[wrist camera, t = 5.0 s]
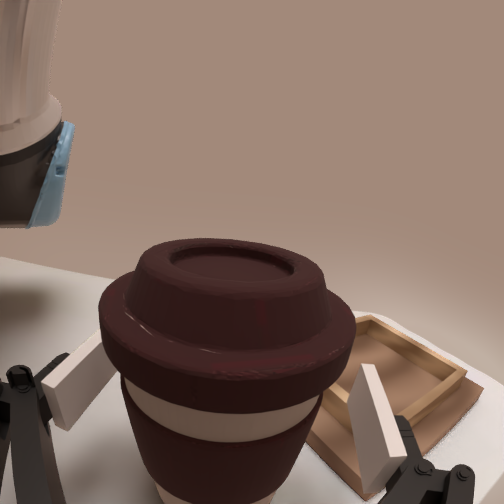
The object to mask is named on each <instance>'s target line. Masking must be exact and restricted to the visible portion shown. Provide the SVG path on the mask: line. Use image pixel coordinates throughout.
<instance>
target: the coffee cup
mask: <svg viewBox="0 0 504 504" xmlns="http://www.w3.org/2000/svg"><path fill="white" fill-rule="evenodd" d="M98 311H99V322H100V331H101V339H102V344H103V347H104V350H105V352H106V355H107V357H108V358H109V360H110V361H111V363H112V364H113V366H114V367H115V368H116V369H117V370H118V371H119V372H120V373H121V375H120V378H121V389H122V394H123V397H124V401H125V405H126V409H127V412H128V416H129V419H130V423H131V426H132V429H133V433H134V436H135V439H136V442H137V445H138V448H139V451H140V454H141V457H142V460H143V463H144V465H145V467H146V469H147V471H148V473H149V474H150V475H151V477H152V478H153V479H154V482H155V485H156V487H157V490H158V493H159V495H160V497H161V499H162V500H163V502H164V504H269V503H270V501H271V499H272V498H273V496H274V494H275V492H276V490H277V489H278V488H279V487H280V486H281V485H282V484H283V482H284V481H285V480H286V478H287V477H288V475H289V473H290V471H291V469H292V467H293V465H294V463H295V461H296V459H297V457H298V455H299V453H300V451H301V449H302V447H303V445H304V443H305V440H306V438H307V436H308V434H309V432H310V430H311V427H312V425H313V423H314V421H315V418H316V416H317V414H318V411H319V409H320V406H321V403H322V399H323V392H324V391H325V390H326V389H327V388H329V387H330V386H331V385H333V384H334V382H335V381H336V380H337V379H338V378H339V377H340V376H341V374H342V373H343V371H344V369H345V368H346V365H347V363H348V360H349V357H350V353H351V350H352V346H353V343H354V339H355V335H356V320H355V316H354V315H353V313H352V311H351V309H350V307H349V306H348V305H347V304H346V303H345V302H344V301H343V300H342V299H341V298H340V297H338V296H337V295H336V294H334V293H333V292H331V291H330V290H328V289H327V288H326V284H325V280H324V274H323V272H322V270H321V269H320V268H319V267H318V266H317V264H315V263H314V262H312V261H311V260H309V259H308V258H306V257H304V256H302V255H299V254H297V253H294V252H292V251H289V250H286V249H283V248H279V247H274V246H270V245H266V244H262V243H255V242H247V241H240V240H233V239H214V238H195V239H182V240H175V241H169V242H164V243H161V244H158V245H155V246H153V247H151V248H150V249H148V250H146V251H145V252H144V253H143V254H142V256H141V257H140V260H139V262H138V264H137V266H136V269H135V271H132V272H129V273H127V274H125V275H123V276H121V277H119V278H118V279H116V280H115V281H114V282H112V283H111V284H110V285H109V286H108V287H107V288H106V289H105V291H104V292H103V293H102V296H101V298H100V301H99V305H98Z"/></svg>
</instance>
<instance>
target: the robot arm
mask: <svg viewBox="0 0 504 504" xmlns="http://www.w3.org/2000/svg"><path fill="white" fill-rule="evenodd" d="M62 1H63V0H0V228H26V229H29V228H30V227H38V226H49V225H51V224H53V223H54V222H56V221H57V219H58V218H59V215H60V212H61V206H62V199H63V192H64V186H65V180H66V173H67V167H68V162H69V156H70V152H71V146H72V142H73V136H74V130H75V126H74V124H72V123H68V122H67V121H64V122H61V115H62V108H61V104H60V102H59V101H58V100H57V99H56V98H55V97H54V96H52V95H51V94H50V93H49V84H50V73H51V63H52V55H53V48H54V42H55V36H56V30H57V25H58V19H59V14H60V10H61V5H62ZM117 371H118V370H117V369H116V368H115V367H114V366H113V364H112V363H111V361H110V360H109V358H108V357H107V355H106V352H105V350H104V347H103V344H102V339H101V331H100V328H99V329H98V330H97V331H96V332H95V333H94V334H93V335H92V336H90V337H89V338H88V339H87V340H86V341H85V342H84V343H83V344H81V345H80V346H79V347H78V348H77V349H76V350H75V351H74V352H73V353H71V354H68V353H63V354H61V355H59V356H57V357H56V358H55V359H53V360H52V361H51V362H50V363H49V364H48V365H47V367H44V368H43V369H42V370H41V371H40V372H39V373H38V374H37V375H35V376H34V377H33V376H32V372H31V369H30V368H29V367H27V366H24V365H16V366H13V367H11V368H10V369H9V370H8V371H7V373H6V376H7V379H8V382H9V383H5V382H1V379H0V493H1V486H2V480H3V474H4V469H5V464H6V459H7V454H8V449H9V445H10V441H11V456H12V468H13V478H14V486H15V493H16V499H17V504H66V501H65V497H64V494H63V490H62V486H61V482H60V478H59V473H58V469H57V464H56V459H55V454H54V449H53V443H52V437H51V430H50V425H49V422H48V421H49V420H50V419H51V418H53V420H54V423H55V425H56V426H58V427H60V428H61V429H63V430H65V431H67V432H68V431H69V430H70V429H71V427H72V426H73V425H74V424H75V422H76V421H77V420H78V419H79V417H80V416H81V415H82V414H83V412H84V411H85V410H86V409H87V407H88V406H89V405H90V404H91V402H92V401H93V400H94V399H95V397H96V396H97V395H98V394H99V393H100V391H101V390H102V389H103V388H104V386H105V385H106V384H107V383H108V382H109V380H110V379H111V378H112V377H113V375H114V374H115V373H116V372H117ZM347 406H348V411H349V415H350V420H351V425H352V431H353V436H354V441H355V446H356V452H357V457H358V463H359V469H360V475H361V481H362V487H363V493H364V494H366V493H380V491H381V490H382V489H383V488H384V487H386V492H387V493H386V494H385V495H384V496H383V497H382V499H381V500H380V501H379V502H378V503H377V504H473V498H474V486H475V474H474V472H473V470H472V469H471V468H470V467H469V466H467V465H463V464H459V465H456V466H454V467H453V468H452V470H451V471H445V470H438V469H435V467H434V465H433V464H432V463H431V462H430V461H428V460H426V459H423V457H422V454H421V452H420V449H419V446H418V444H417V441H416V438H415V437H414V433H413V431H412V428H411V426H410V423H409V421H408V420H407V419H406V418H405V417H404V416H403V415H393V413H392V410H391V407H390V405H389V402H388V399H387V396H386V394H385V391H384V389H383V386H382V383H381V381H380V378H379V376H378V373H377V370H376V368H375V365H374V364H362V363H361V365H360V368H359V371H358V374H357V376H356V379H355V382H354V384H353V387H352V389H351V392H350V394H349V397H348V399H347Z"/></svg>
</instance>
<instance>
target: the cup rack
mask: <svg viewBox="0 0 504 504" xmlns="http://www.w3.org/2000/svg"><path fill="white" fill-rule="evenodd" d="M355 320H356V335H355V339H354V343H353V346H352V350H351V353H350V357H349V360H348V363H347V365H346V368H345V369H344V371H343V373H342V374H341V376H340V377H339V378H338V379H337V380H336V381H335V382H334V384H333V385H331V386H330V387H329V388H327V389H326V390H325V391H324V392H323V399H322V403H321V406H320V409H319V411H318V414H317V416H316V418H315V421H314V423H313V425H312V427H311V430H310V432H309V434H308V436H307V438H306V440H305V441H306V442H307V443H308V444H309V445H310V446H311V447H312V449H313V450H314V451H315V452H316V453H317V454H318V455H319V456H320V457H321V458H322V459H323V460H324V461H325V462H326V463H327V464H328V465H329V466H330V467H331V468H332V469H333V470H334V471H335V472H336V473H337V474H338V475H339V476H340V477H341V478H342V479H343V480H344V481H345V482H346V483H347V484H348V485H349V486H350V487H351V488H352V489H353V490H354V491H355V492H356V493H358V494H359V495H360V496H361V497H362V498H363V499H364V500H365V501H367V500H368V499H370V498H371V497H373V496H374V495H375V494H377V493H366V494H364V493H363V487H362V481H361V475H360V469H359V463H358V457H357V452H356V446H355V441H354V436H353V431H352V425H351V420H350V415H349V411H348V406H347V399H348V397H349V394H350V392H351V389H352V387H353V384H354V382H355V379H356V376H357V374H358V371H359V368H360V365H361V363H362V364H374V365H375V368H376V370H377V373H378V376H379V378H380V381H381V383H382V386H383V389H384V391H385V394H386V396H387V399H388V402H389V405H390V407H391V410H392V413H393V415H403V416H404V417H405V418H406V419H407V420H408V421H409V423H410V426H411V428H412V431H413V433H414V437H415V438H416V441H417V444H418V446H419V449H420V452H421V454H422V457H423V456H424V455H425V454H426V453H427V452H428V451H429V450H430V449H431V448H432V447H434V446H435V445H436V444H437V443H438V442H439V441H440V440H441V439H442V438H443V437H444V436H445V435H446V434H447V433H448V432H449V431H450V430H451V429H452V428H453V427H454V426H455V425H456V423H457V422H458V421H459V420H460V419H461V418H462V417H463V416H464V415H465V414H466V413H467V411H468V410H469V409H470V408H471V407H472V406H473V405H474V403H475V402H476V401H477V400H478V398H479V397H480V395H481V393H482V391H483V389H484V388H483V387H481V386H479V385H478V384H476V383H474V382H473V381H471V380H469V379H467V378H466V377H465V375H466V373H467V370H465V369H463V368H462V367H460V366H458V365H456V364H455V363H453V362H451V361H450V360H448V359H446V358H444V357H443V356H441V355H439V354H437V353H436V352H434V351H432V350H431V349H429V348H427V347H425V346H424V345H422V344H420V343H418V342H417V341H415V340H413V339H412V338H410V337H408V336H406V335H405V334H403V333H401V332H399V331H398V330H396V329H394V328H393V327H391V326H389V325H387V324H386V323H384V322H382V321H380V320H379V319H377V318H375V317H373V316H372V315H367V316H363V317H359V318H355ZM384 488H385V487H384ZM384 488H383V489H384Z"/></svg>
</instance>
